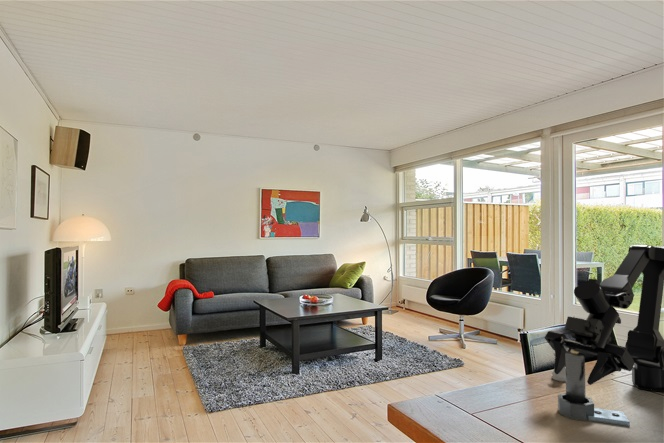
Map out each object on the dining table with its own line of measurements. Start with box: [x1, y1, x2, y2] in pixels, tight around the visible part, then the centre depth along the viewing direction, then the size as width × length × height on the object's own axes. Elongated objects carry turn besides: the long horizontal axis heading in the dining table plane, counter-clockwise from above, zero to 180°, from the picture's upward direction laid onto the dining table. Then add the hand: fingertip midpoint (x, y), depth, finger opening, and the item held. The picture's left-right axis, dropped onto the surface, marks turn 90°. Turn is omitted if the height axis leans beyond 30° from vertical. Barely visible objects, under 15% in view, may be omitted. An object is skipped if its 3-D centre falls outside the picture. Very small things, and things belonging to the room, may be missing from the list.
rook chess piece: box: [551, 352, 566, 383], centre depth 123 cm, size 4×4×8 cm
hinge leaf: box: [557, 392, 630, 427], centre depth 98 cm, size 14×7×4 cm, turn 68°
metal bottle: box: [565, 349, 587, 404], centre depth 99 cm, size 4×4×14 cm
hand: (571, 378), depth 99 cm, fingers open, 8 cm apart
